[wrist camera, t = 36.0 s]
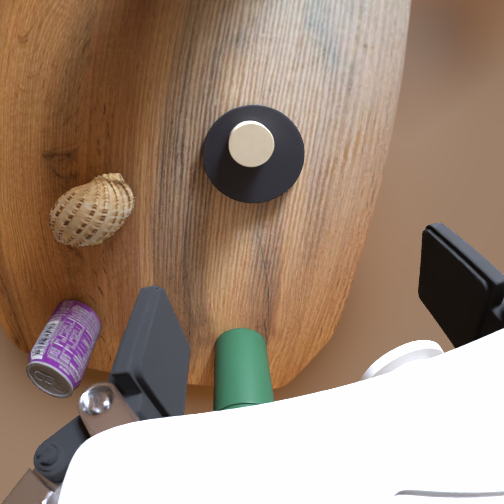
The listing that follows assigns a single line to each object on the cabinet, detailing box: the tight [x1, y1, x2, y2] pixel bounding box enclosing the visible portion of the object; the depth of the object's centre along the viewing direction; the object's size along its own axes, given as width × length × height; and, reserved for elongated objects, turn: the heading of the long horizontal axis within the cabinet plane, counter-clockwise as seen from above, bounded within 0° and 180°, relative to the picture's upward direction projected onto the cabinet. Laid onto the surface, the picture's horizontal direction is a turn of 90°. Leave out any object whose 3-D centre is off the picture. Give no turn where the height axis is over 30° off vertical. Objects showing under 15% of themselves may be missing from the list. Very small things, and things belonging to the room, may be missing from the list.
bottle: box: [213, 328, 274, 412], centre depth 35 cm, size 7×7×18 cm
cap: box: [229, 121, 274, 167], centre depth 29 cm, size 4×4×2 cm
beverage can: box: [26, 300, 101, 398], centre depth 34 cm, size 7×7×12 cm
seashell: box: [49, 173, 135, 247], centre depth 30 cm, size 8×6×10 cm
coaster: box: [203, 105, 305, 203], centre depth 31 cm, size 10×10×1 cm
